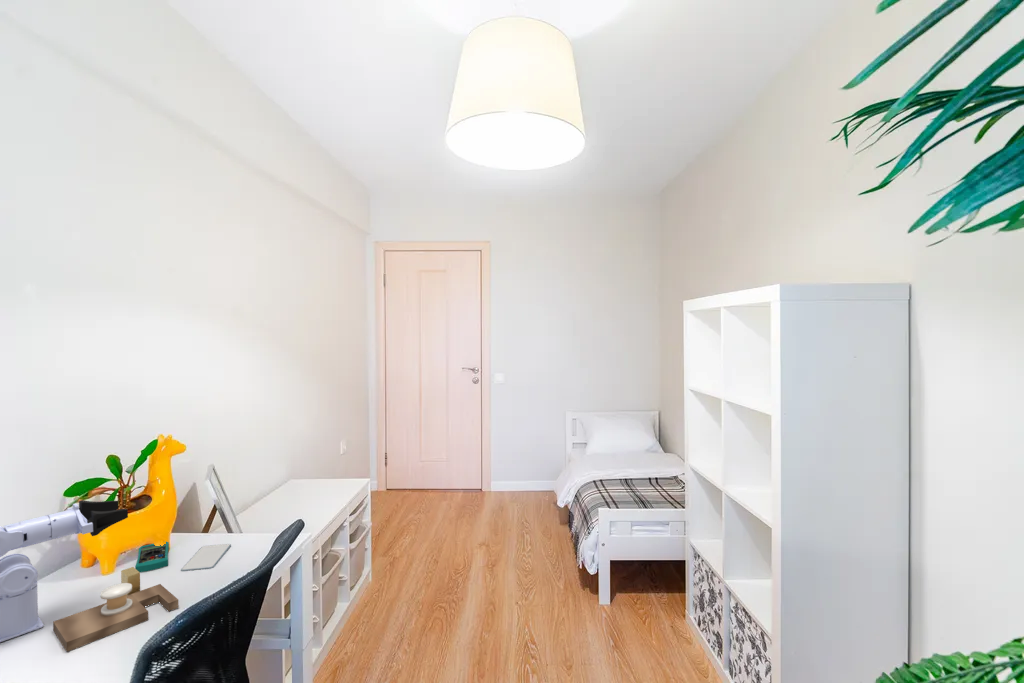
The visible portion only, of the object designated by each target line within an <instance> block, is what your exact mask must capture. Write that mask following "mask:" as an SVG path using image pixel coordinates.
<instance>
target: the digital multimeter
mask: <svg viewBox="0 0 1024 683" xmlns="http://www.w3.org/2000/svg"><path fill="white" fill-rule="evenodd" d="M169 549H170V542H169V541H166V544H164V545H163V546H161V545H160V546H155V545H154V543H149V544H146V545H141V546H139V547H138V553H137V561H136V563H135V565H134V566H135V567H134V568H135V569H136V570H138V571H139V572H140V573H147V572H150V571H155V570H159V569H162V568H165V567H168V566H169Z"/></svg>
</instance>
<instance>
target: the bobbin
mask: <svg viewBox="0 0 1024 683" xmlns="http://www.w3.org/2000/svg"><path fill="white" fill-rule="evenodd" d="M131 590H132V584H130V583H116V584H114V585H110V586H108V587H106V588H104V589H102V591H101V592H100V599H102V600H106V603H107V604H106V605H104V606H103V607H102V608H101V614H102V615H104V616H110V615H115V614H119V613H122V612H124V611H126V610H128V609H129V608H130V607H131V606H132V600H131V599H127V594H128V593H129V592H130V591H131Z"/></svg>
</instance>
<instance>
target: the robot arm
mask: <svg viewBox="0 0 1024 683" xmlns="http://www.w3.org/2000/svg"><path fill="white" fill-rule="evenodd" d="M128 518H129V511H128V509H127V508H122V509H121V508H120V509H119V500H105V501H104V500H103V501H91V500H90V501H89V500H84V499H82V500H79V501H78V503H72V507H68V508H66V510H63V511H59V512H55V513H51V514H45V515H42V516H38V517H34V518H29V519H25V520H20V521H18V522H14V523H10V524H6V525H3V526H1V525H0V643H2V642H5V641H8V640H10V639H13V638H17V637H20V636H22V635H25V634H28V633H30V632H34V631H36V630H38V629H41V628H43V627H44V623H43V621H42V619H41V618H40V616H39V611H38V610H39V602H38V596H39V595H38V580H37V579H38V575H39V574H38V570H37V568H36V567H35V566H34V565H33V564H32V563H31V560H30V558H29V557H28V556H27V555H25V554H23V553H11V554H8V555H6V554H7V553H9V552H10V551H13V550H17V549H21V548H26V547H29V546H34V545H37V544H41V543H44V542H49V541H53V540H56V539H59V538H63V537H67V536H71V535H80V534H82V535H85V534H90V535H91V537H94V536H98V535H99V534H100V533H102V532H103V531H104V530H106V529H107V528H109V527H111V526H114V525H115V524H117V523H119V522H122V521H123V520H126V519H128Z"/></svg>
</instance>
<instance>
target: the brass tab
mask: <svg viewBox="0 0 1024 683" xmlns="http://www.w3.org/2000/svg"><path fill="white" fill-rule="evenodd" d="M120 573H121V574H120V578H121V580H120V581H121V583H130V584H132V590H131V591H130V592H129V593H128V594H127V595H130V594H133V593H136V592H139V591H141V572H139V571H138V570H136V569H135V567H134V566H132V567H128V568H125V569H122V570H120ZM121 583H120V584H121Z"/></svg>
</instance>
